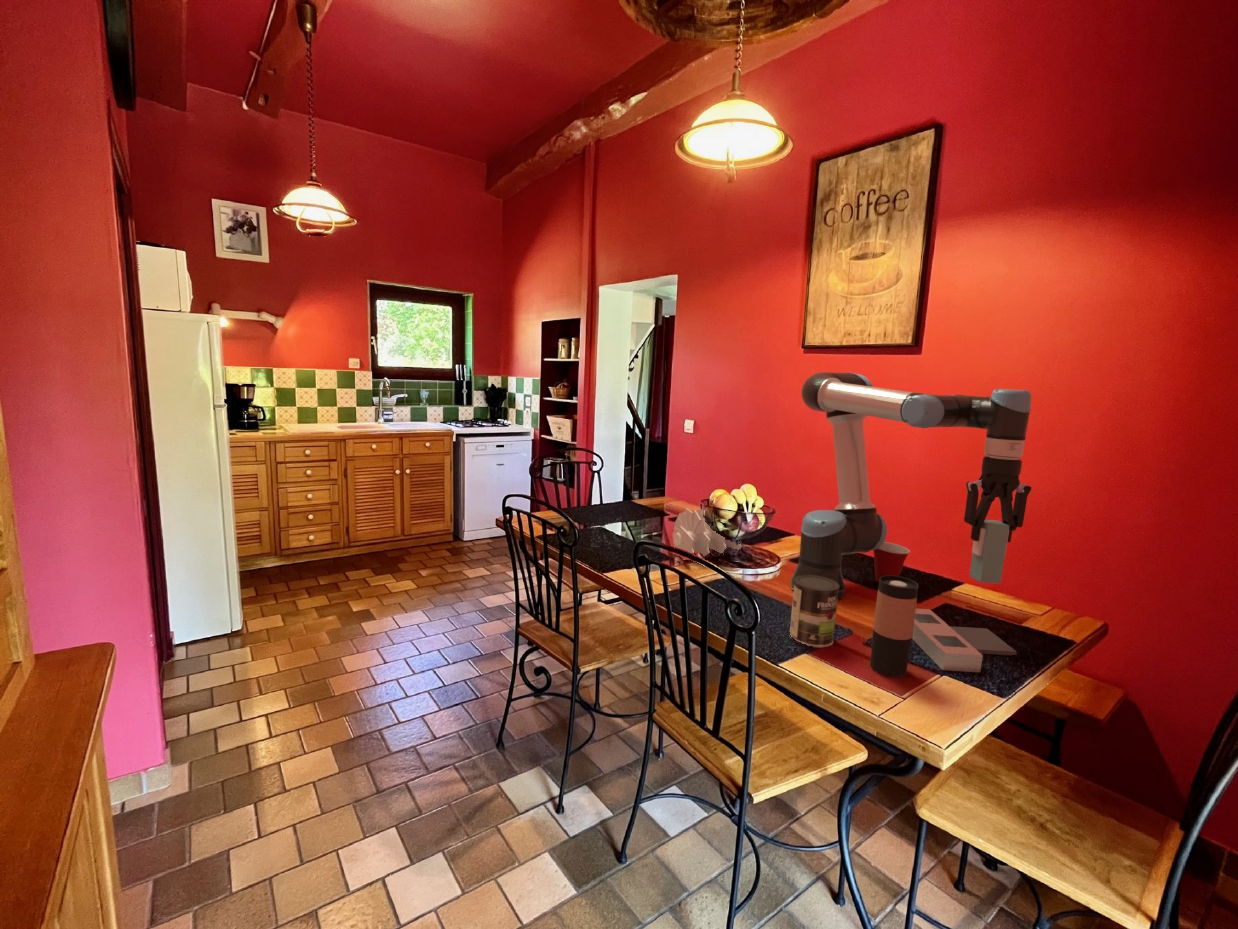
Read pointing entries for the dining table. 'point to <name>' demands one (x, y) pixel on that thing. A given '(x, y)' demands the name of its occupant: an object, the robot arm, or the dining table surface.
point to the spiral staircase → (698, 534)
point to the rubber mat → (984, 641)
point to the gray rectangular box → (991, 553)
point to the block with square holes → (944, 643)
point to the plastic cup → (889, 559)
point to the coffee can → (814, 610)
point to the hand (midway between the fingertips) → (988, 554)
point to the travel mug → (893, 625)
